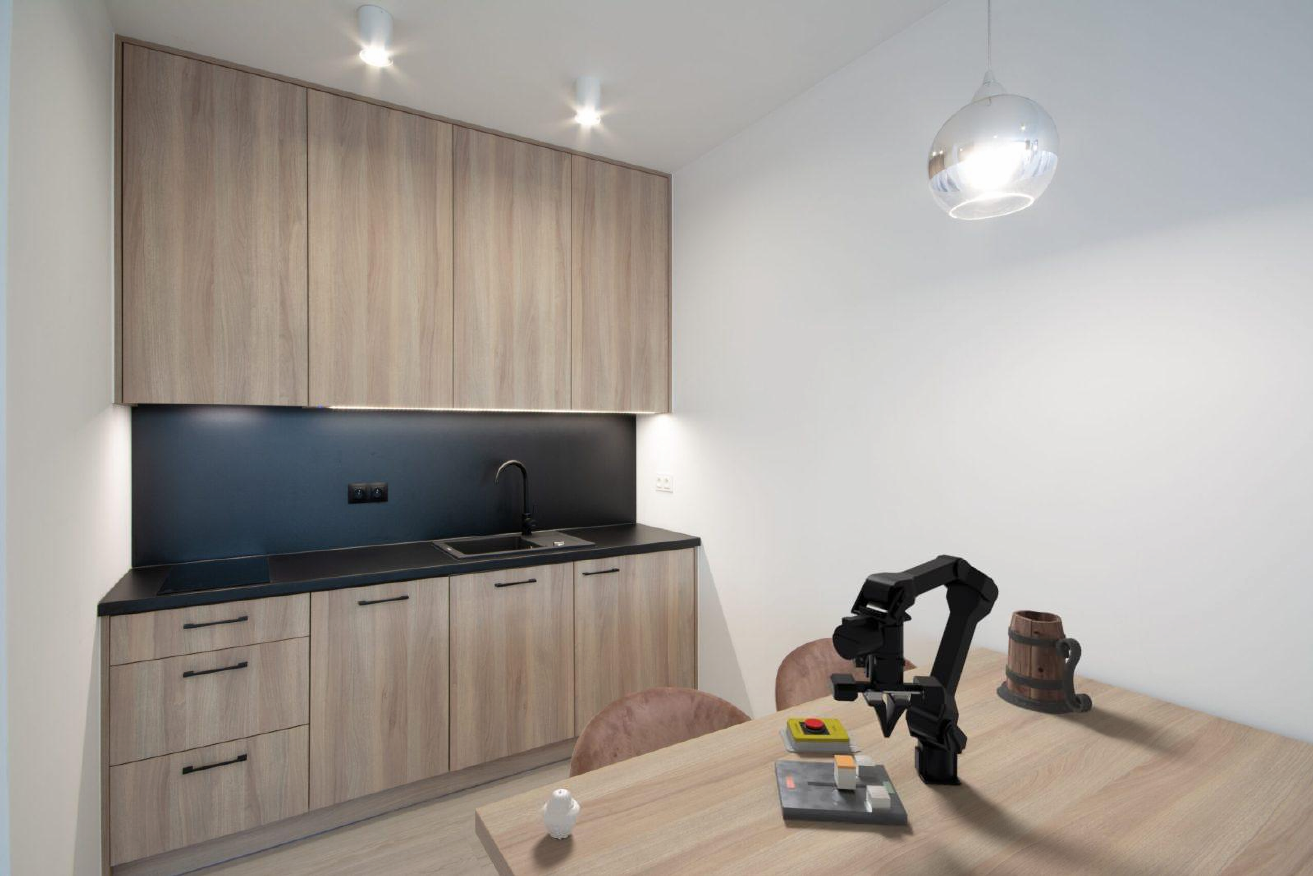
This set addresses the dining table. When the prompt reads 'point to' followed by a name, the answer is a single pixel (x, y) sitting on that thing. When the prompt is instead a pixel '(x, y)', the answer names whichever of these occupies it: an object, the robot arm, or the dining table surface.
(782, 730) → the emergency button
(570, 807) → the white rounded lump
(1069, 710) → the tankard
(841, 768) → the block
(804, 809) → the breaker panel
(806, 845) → the dining table surface
